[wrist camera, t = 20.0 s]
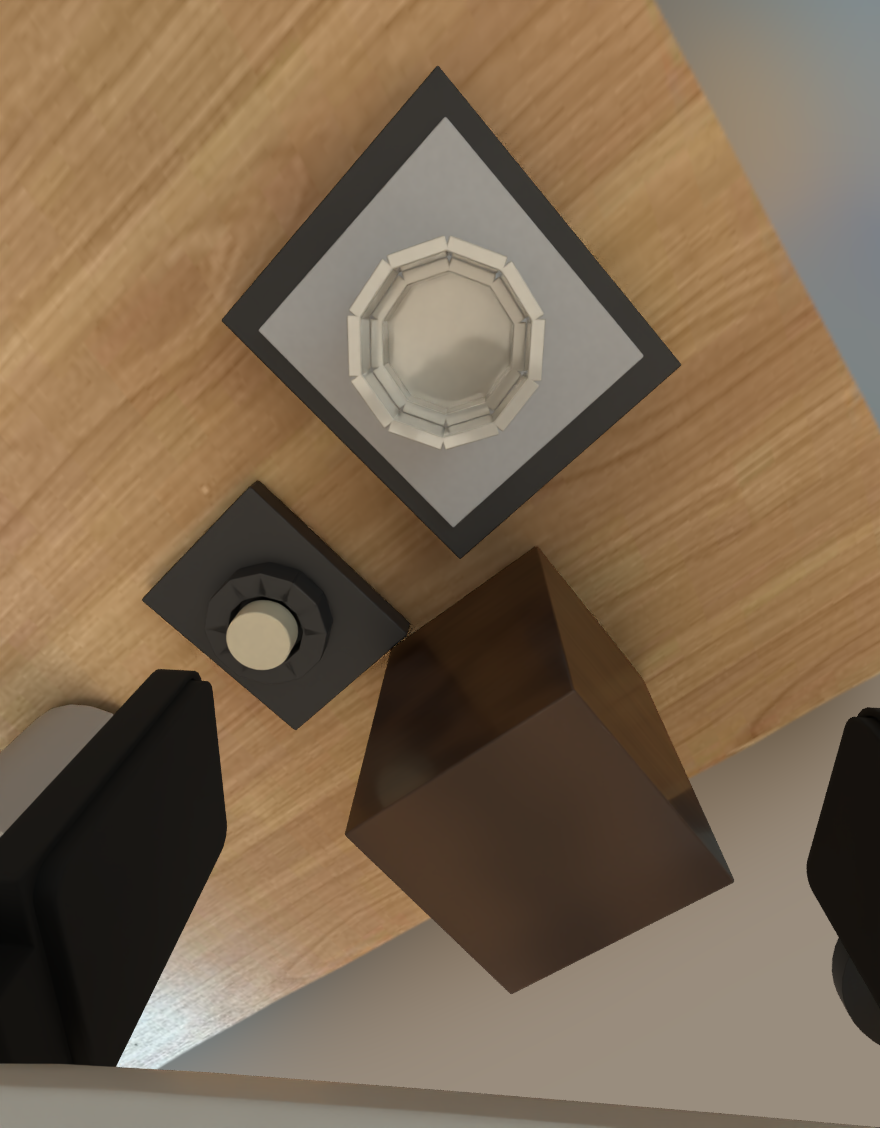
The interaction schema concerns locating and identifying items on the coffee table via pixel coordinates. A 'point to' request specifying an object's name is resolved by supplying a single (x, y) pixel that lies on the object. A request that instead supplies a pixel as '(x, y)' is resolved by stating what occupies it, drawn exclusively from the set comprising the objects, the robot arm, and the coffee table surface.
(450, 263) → the bowl
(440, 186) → the scale
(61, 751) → the can
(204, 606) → the pad
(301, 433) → the coffee table surface
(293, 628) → the button
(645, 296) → the coffee table surface
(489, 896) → the stand
